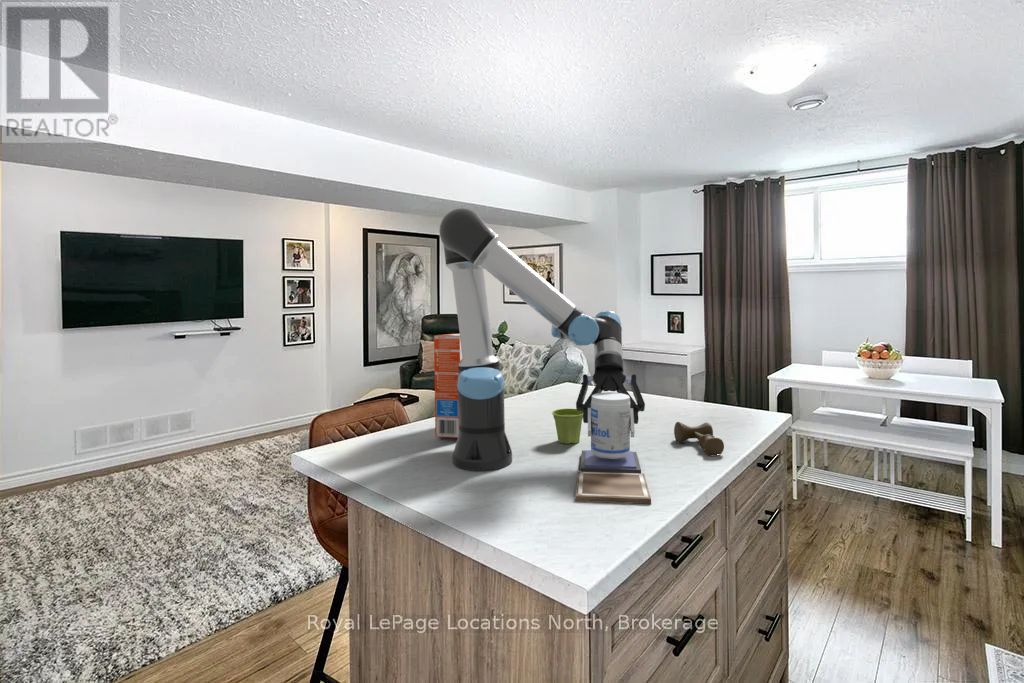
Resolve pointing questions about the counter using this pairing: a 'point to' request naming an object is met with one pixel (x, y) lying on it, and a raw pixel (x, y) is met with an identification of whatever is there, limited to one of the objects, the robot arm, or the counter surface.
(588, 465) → the ink pad
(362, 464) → the counter surface
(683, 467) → the counter surface
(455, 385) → the orange cereal box
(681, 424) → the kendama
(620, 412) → the supplement tub
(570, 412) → the plant pot
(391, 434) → the counter surface
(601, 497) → the board
